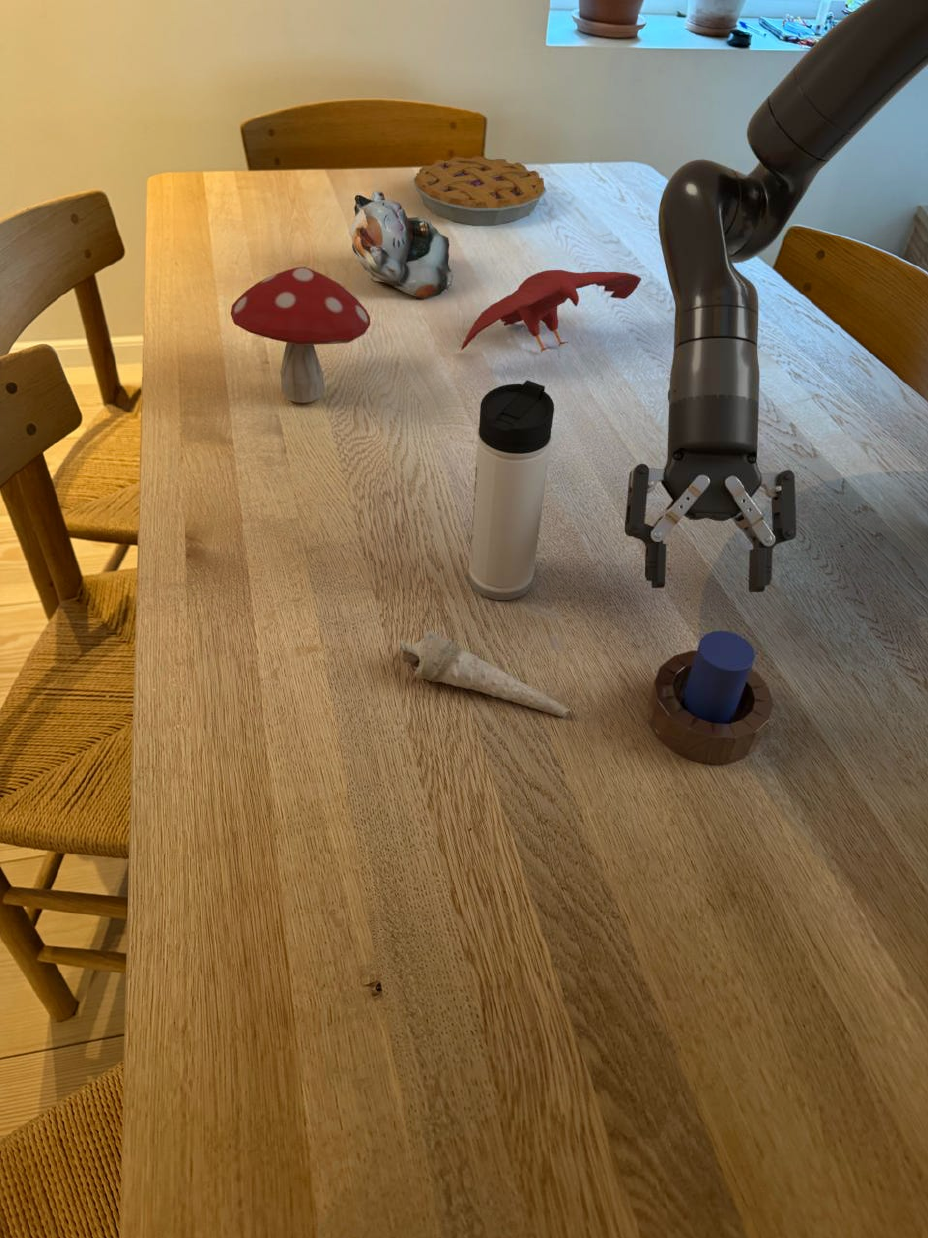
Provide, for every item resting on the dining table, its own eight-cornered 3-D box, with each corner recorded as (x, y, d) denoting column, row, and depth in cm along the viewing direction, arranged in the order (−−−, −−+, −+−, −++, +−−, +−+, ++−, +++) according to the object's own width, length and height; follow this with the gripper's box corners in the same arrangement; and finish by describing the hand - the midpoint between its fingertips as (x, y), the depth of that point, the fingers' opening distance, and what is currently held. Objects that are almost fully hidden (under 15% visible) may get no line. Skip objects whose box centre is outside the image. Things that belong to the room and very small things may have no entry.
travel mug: (545, 572, 94) (570, 392, 80) (513, 610, 90) (533, 428, 76) (489, 549, 96) (505, 370, 82) (456, 585, 92) (466, 404, 78)
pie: (485, 171, 173) (487, 141, 170) (569, 210, 162) (573, 180, 158) (388, 195, 163) (388, 165, 159) (470, 239, 151) (472, 207, 148)
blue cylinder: (725, 697, 83) (748, 631, 77) (735, 737, 79) (760, 671, 74) (675, 695, 82) (694, 629, 77) (683, 735, 79) (704, 669, 74)
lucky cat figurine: (452, 304, 134) (411, 225, 123) (376, 326, 139) (329, 252, 127) (457, 232, 142) (418, 152, 131) (384, 255, 146) (341, 179, 135)
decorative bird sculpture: (445, 395, 125) (498, 351, 112) (417, 329, 125) (467, 277, 111) (605, 341, 138) (670, 296, 125) (579, 281, 137) (642, 229, 124)
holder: (748, 680, 85) (758, 652, 82) (772, 767, 78) (784, 740, 76) (641, 676, 85) (648, 648, 82) (655, 762, 78) (664, 735, 75)
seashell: (403, 651, 86) (410, 611, 83) (571, 706, 83) (583, 666, 81) (386, 677, 82) (392, 636, 80) (561, 735, 80) (573, 694, 77)
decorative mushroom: (224, 373, 118) (207, 254, 108) (343, 349, 124) (338, 234, 114) (266, 439, 108) (252, 315, 98) (394, 410, 114) (393, 289, 104)
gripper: (640, 387, 78) (634, 584, 78) (812, 394, 79) (806, 591, 79) (622, 409, 86) (616, 589, 86) (779, 415, 86) (774, 594, 86)
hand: (707, 589), depth 82 cm, fingers open, 8 cm apart
